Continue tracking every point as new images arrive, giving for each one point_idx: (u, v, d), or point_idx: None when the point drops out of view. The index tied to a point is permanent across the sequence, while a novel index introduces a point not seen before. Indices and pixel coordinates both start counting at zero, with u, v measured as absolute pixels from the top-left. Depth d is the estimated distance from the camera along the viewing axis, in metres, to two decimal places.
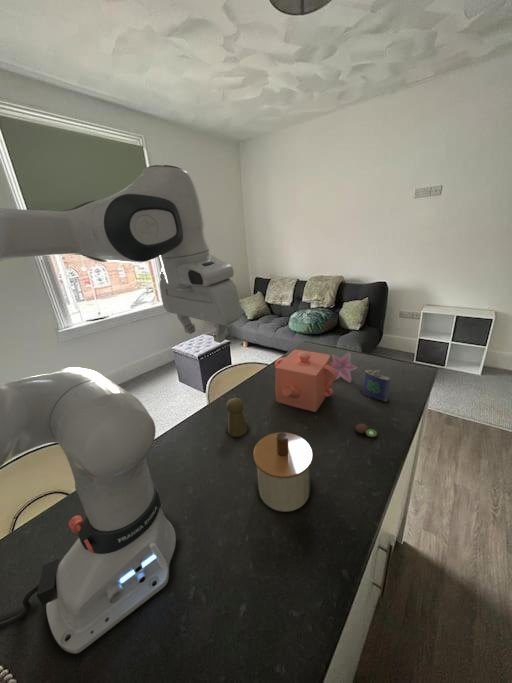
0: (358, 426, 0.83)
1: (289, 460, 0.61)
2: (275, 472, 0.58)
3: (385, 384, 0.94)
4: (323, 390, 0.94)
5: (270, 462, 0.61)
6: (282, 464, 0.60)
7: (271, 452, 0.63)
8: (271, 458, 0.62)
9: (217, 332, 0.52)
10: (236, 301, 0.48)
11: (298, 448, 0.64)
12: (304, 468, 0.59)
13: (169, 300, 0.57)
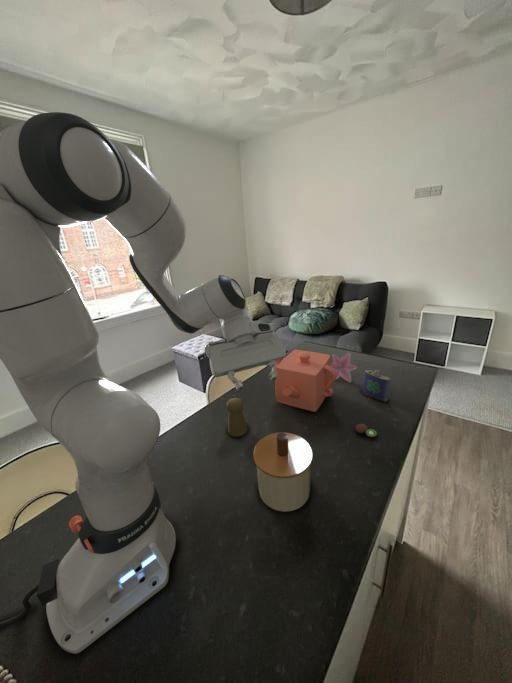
0: (358, 426, 0.83)
1: (289, 460, 0.61)
2: (275, 472, 0.58)
3: (385, 384, 0.94)
4: (323, 390, 0.94)
5: (270, 462, 0.61)
6: (282, 464, 0.60)
7: (271, 452, 0.63)
8: (271, 458, 0.62)
9: (275, 368, 0.72)
10: None
11: (298, 448, 0.64)
12: (304, 468, 0.59)
13: (224, 359, 0.68)
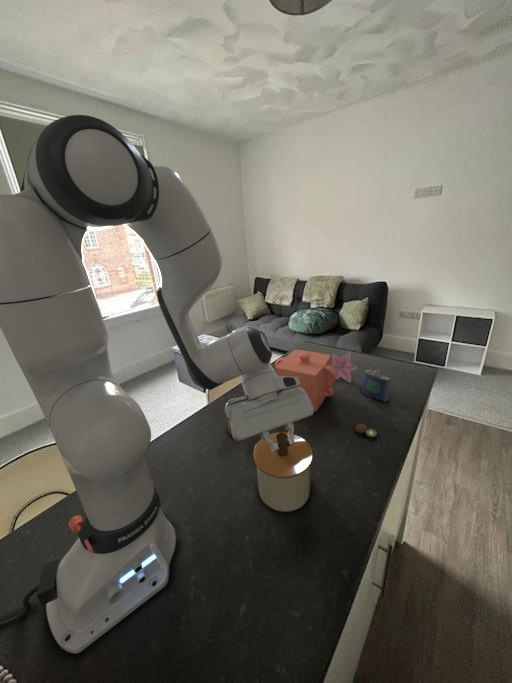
0: (358, 426, 0.83)
1: (289, 460, 0.61)
2: (275, 472, 0.58)
3: (385, 384, 0.94)
4: (323, 390, 0.94)
5: (270, 462, 0.61)
6: (282, 464, 0.60)
7: (271, 452, 0.63)
8: (271, 458, 0.62)
9: (292, 432, 0.63)
10: None
11: (298, 448, 0.64)
12: (304, 468, 0.59)
13: (247, 422, 0.61)
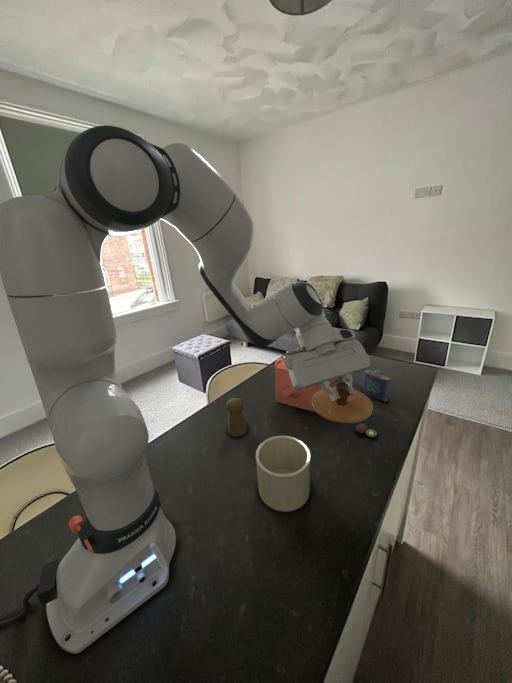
0: (358, 426, 0.83)
1: (350, 408, 0.61)
2: (339, 418, 0.58)
3: (385, 384, 0.94)
4: None
5: (331, 410, 0.61)
6: (344, 411, 0.60)
7: (330, 402, 0.64)
8: (331, 407, 0.62)
9: (351, 382, 0.63)
10: None
11: (356, 399, 0.64)
12: (367, 414, 0.59)
13: (308, 370, 0.61)
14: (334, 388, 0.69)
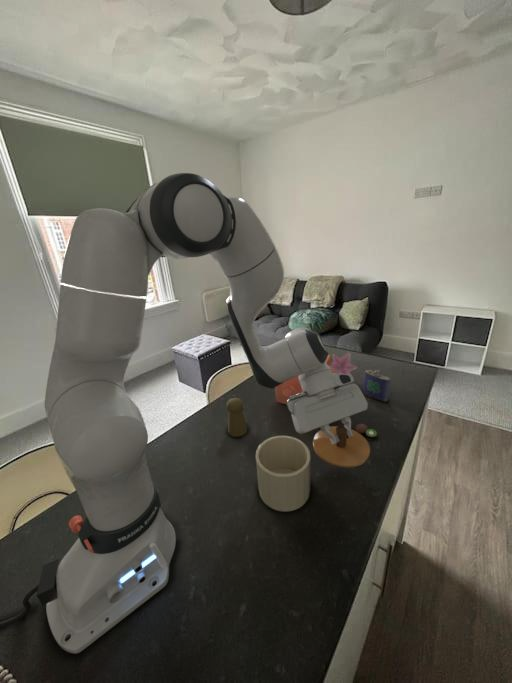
0: (358, 426, 0.83)
1: (349, 451, 0.66)
2: (338, 462, 0.63)
3: (385, 384, 0.94)
4: None
5: (331, 453, 0.66)
6: (343, 455, 0.65)
7: (330, 444, 0.68)
8: (331, 449, 0.67)
9: (350, 426, 0.68)
10: None
11: (354, 440, 0.69)
12: (365, 458, 0.64)
13: (310, 416, 0.66)
14: (334, 428, 0.74)
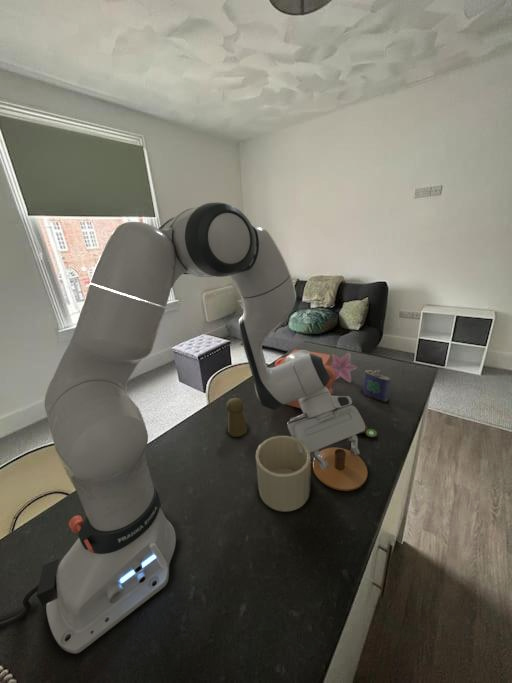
0: None
1: (347, 474, 0.68)
2: (337, 485, 0.66)
3: (385, 384, 0.94)
4: None
5: (330, 476, 0.68)
6: (342, 477, 0.68)
7: (329, 466, 0.71)
8: (330, 472, 0.69)
9: (356, 444, 0.71)
10: None
11: (353, 462, 0.72)
12: (362, 481, 0.66)
13: (310, 438, 0.68)
14: (333, 449, 0.76)
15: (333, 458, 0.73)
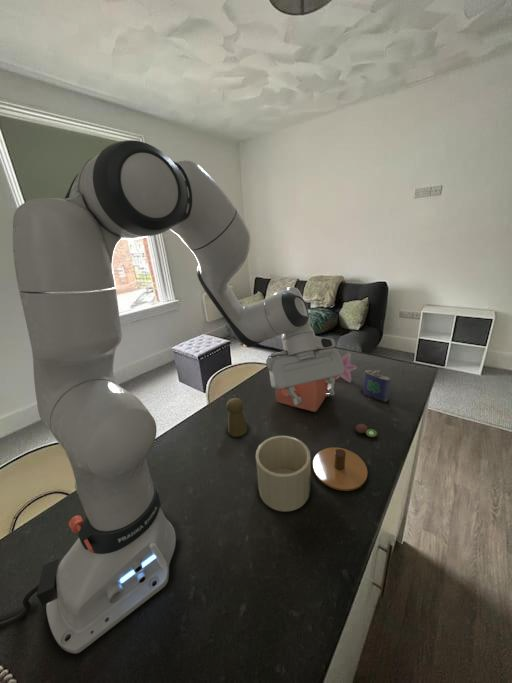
0: (358, 426, 0.83)
1: (347, 474, 0.68)
2: (337, 485, 0.66)
3: (385, 384, 0.94)
4: (323, 390, 0.94)
5: (330, 476, 0.68)
6: (342, 477, 0.68)
7: (329, 466, 0.71)
8: (330, 472, 0.69)
9: (333, 385, 0.72)
10: None
11: (353, 462, 0.72)
12: (362, 481, 0.66)
13: (286, 374, 0.68)
14: (333, 449, 0.76)
15: (333, 458, 0.73)
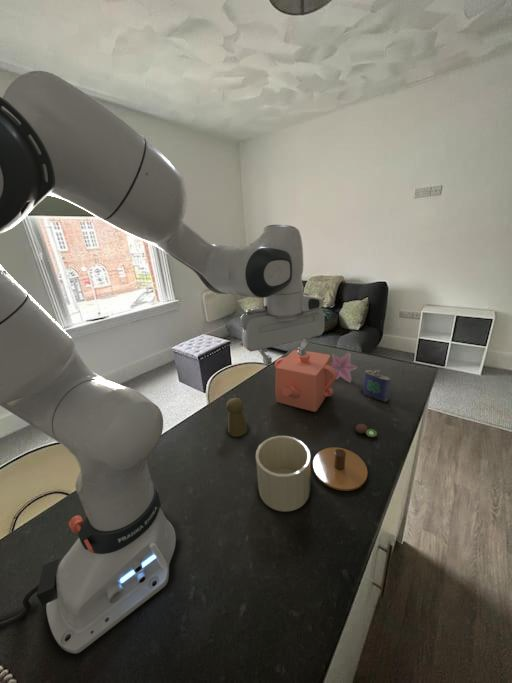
0: (358, 426, 0.83)
1: (347, 474, 0.68)
2: (337, 485, 0.66)
3: (385, 384, 0.94)
4: (323, 390, 0.94)
5: (330, 476, 0.68)
6: (342, 477, 0.68)
7: (329, 466, 0.71)
8: (330, 472, 0.69)
9: (307, 346, 0.67)
10: None
11: (353, 462, 0.72)
12: (362, 481, 0.66)
13: (261, 337, 0.60)
14: (333, 449, 0.76)
15: (333, 458, 0.73)
